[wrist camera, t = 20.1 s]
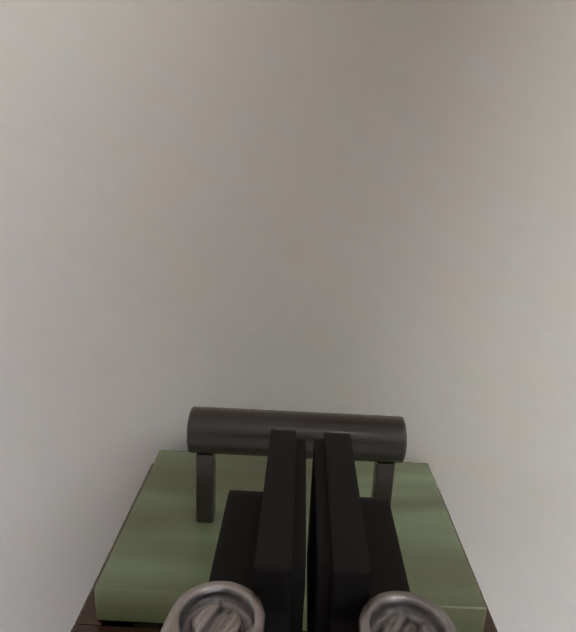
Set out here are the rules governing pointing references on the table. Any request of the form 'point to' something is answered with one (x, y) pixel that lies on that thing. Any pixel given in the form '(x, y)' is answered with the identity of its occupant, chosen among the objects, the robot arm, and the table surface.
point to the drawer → (249, 475)
